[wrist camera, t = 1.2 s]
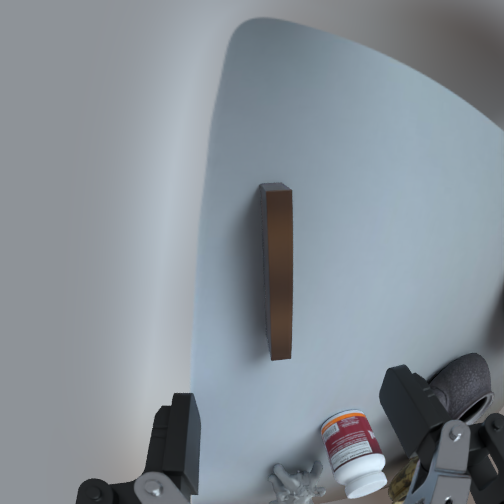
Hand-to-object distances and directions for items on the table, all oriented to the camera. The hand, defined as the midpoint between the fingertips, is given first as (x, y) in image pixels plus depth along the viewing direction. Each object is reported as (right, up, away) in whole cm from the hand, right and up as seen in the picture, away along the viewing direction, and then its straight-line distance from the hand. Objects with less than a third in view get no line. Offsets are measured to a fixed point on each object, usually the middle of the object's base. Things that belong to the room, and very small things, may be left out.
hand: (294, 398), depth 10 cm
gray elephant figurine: (+5, -30, +26) cm, 39 cm away
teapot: (+25, -16, +22) cm, 37 cm away
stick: (0, +5, +12) cm, 13 cm away
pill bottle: (+10, -16, +21) cm, 28 cm away
